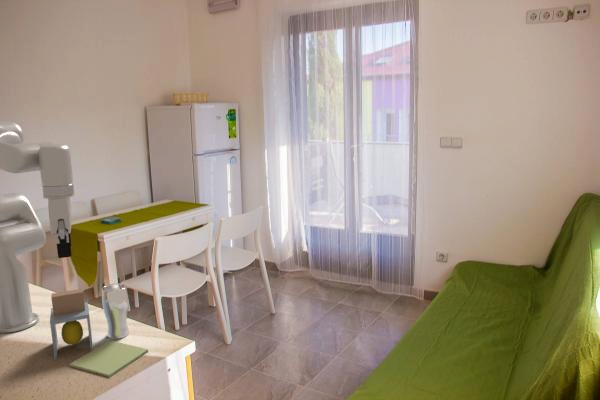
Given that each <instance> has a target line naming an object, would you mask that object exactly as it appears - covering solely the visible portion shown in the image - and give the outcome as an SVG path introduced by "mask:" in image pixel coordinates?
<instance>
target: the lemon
mask: <svg viewBox="0 0 600 400" xmlns="http://www.w3.org/2000/svg"><path fill="white" fill-rule="evenodd" d="M83 336H84V330H83V326H82V324H81V322H79V320H75V321H70V322H64V323H63V325H62V328H61V337H62V340H63V342H64V343H65V344H67V345H70V346H75V345H77V344H78V343H79V342H80V341H82V339H83Z"/></svg>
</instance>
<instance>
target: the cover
mask: <svg viewBox="0 0 600 400" xmlns="http://www.w3.org/2000/svg"><path fill="white" fill-rule="evenodd" d="M84 295H85V294H84V288H78V289H71V290H66V291H60V292H55V293H54V292H53V293H51V306H52V308H50V317H49V324H50V331H51V340H52V346H53V355H54V358H58V349H59V348H58V345H59V341H58V339H59V338H58V333H57V332H58V331H57V325H58V324H65V323H66V322H70V321H75V320H76V321H80V320H85V319H87V320H86V321H87V328H88V329H87V330H88V337H89V339H88V340H89V348H90V351H93V350H94V345H93V337H92V328H91V319H90V311H89V302H88V301H85V296H84Z"/></svg>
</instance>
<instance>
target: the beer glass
mask: <svg viewBox="0 0 600 400" xmlns="http://www.w3.org/2000/svg"><path fill="white" fill-rule="evenodd" d="M126 287H127V286H126V285H125V284H124V283H111V284H107V285H104V286H103V287H102V288H101V302H102V309H103V313H104V315H105V316H104V317H105V319H106V323H107V338H108V339H110V340H120V339H123V338H126V337H127V336H128V335H129V334H130V330H129V326H128V321H127V319H128V308H129V307H128V306H129V305H128V304H129V303H128V302H129V301H128V294H127V293H128V292H127V288H126Z"/></svg>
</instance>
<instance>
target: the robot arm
mask: <svg viewBox="0 0 600 400" xmlns="http://www.w3.org/2000/svg"><path fill="white" fill-rule="evenodd" d="M24 138H25V137H24V132H23V130H22V127H21V126H19V125H18V124H17V123H15V122H12V121H9V120H7V121H6V120H5V121H4V120H3V121H0V170H1V171H4V172H7V173H11V174H22V173H23V174H25V173H30V172H36V171H37V172H39V171H40V180H41V189H42V197H43V199H46V200H47V209H48V217H49V227H50V235H51V236H54V235H56V250H57V258H58V259H64V258H70V257H72V248H71V247H72V239H71V232H72V208H71V207H72V206H71V197H74V196H75V188H74V186H75V185H74V180H73V169H72V168H73V167H72V160H71V159H72V158H71V151H70V147H69V146H68V145H66V144H58V143H57V144H56V143H52V142H48V141H46V142H45V141H43V142H29V143H24ZM0 226H1V227H0V333H5V334H7V333H14V332H19V331H22V330H23V331H24V330H25V329H29V328H31V327H32V326H34V325H36V324H37V323H39V320H40V317H39V315H38V314H37V313H35V312H33V307H32V300H31V293H30V286H29V279H28V271H27V268H26V266H25V264H24V263H23V262H22V261H21V260H19V259H18V258H17V257H18V256H19V255H23V254H26V253H30V252H34V251H37V250H39V249H41V248H43V247H44V246H45V245H46V242H47V235H46V230H45V228H44V226H43V224H42V222H41V221H40V219H39V217H38V215H37V213H36V211H35V209H34V207H33V205H32V203H31V202H30V200H29V198H27V197H26V196H25V195H23V194H22V193H20V192H11V193H4V194H0Z"/></svg>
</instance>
